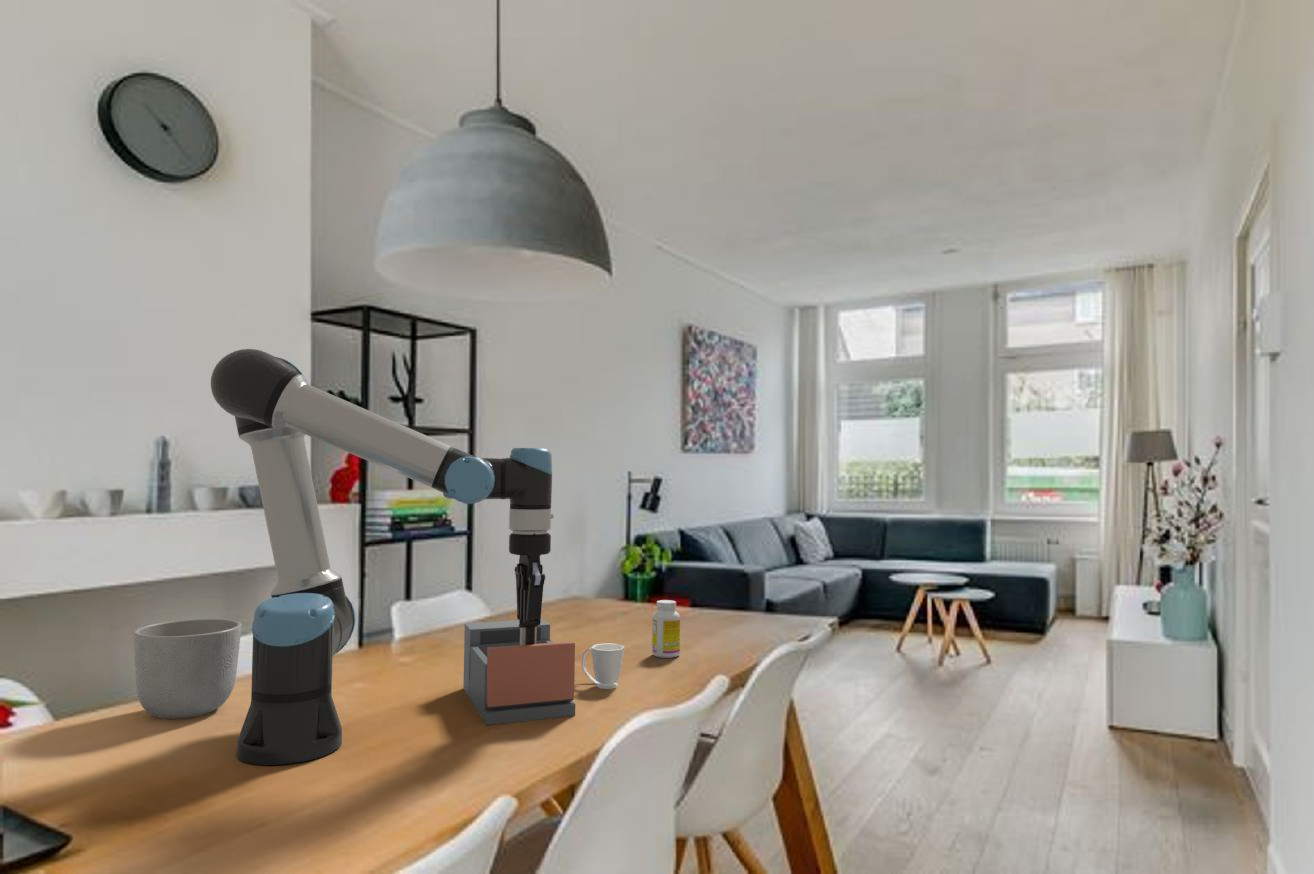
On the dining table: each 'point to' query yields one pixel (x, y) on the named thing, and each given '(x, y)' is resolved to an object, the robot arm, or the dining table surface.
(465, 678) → the grey box shell
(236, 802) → the dining table surface
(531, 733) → the dining table surface
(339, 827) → the dining table surface
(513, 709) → the grey drop-front box
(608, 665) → the cup
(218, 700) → the planter
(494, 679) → the panel
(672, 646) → the supplement bottle
